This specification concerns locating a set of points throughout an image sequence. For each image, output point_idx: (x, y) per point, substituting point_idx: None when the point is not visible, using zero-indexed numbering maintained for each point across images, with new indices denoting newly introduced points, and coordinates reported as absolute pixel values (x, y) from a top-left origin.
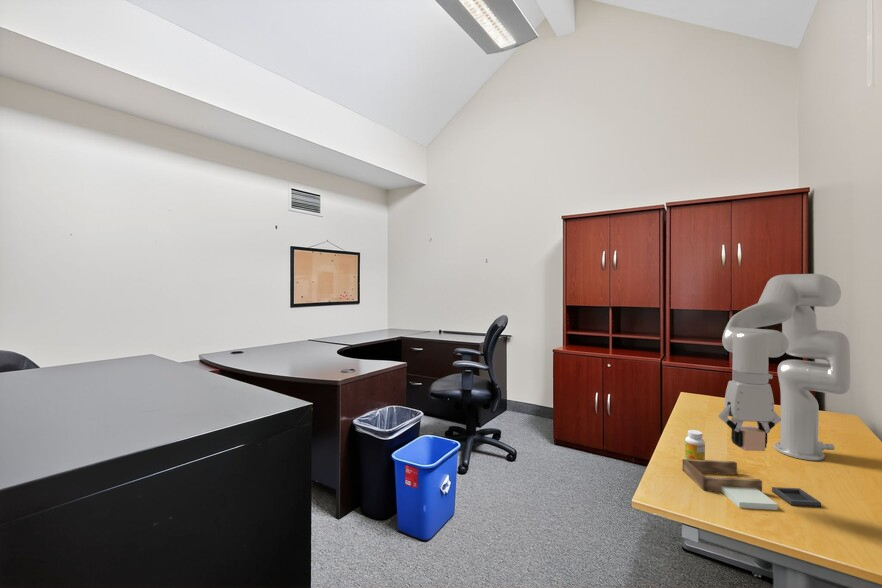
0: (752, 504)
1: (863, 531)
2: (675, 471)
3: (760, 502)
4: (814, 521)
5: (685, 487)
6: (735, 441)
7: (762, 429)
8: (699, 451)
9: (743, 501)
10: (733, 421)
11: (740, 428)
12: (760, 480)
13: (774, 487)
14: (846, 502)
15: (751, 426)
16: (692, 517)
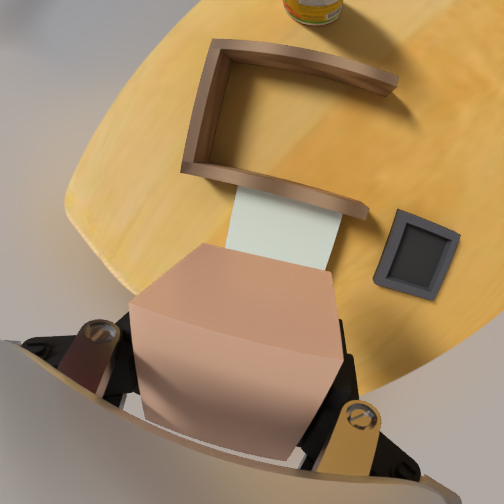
0: None
1: (399, 368)
2: (199, 58)
3: None
4: (350, 335)
5: (162, 149)
6: None
7: (304, 450)
8: (306, 3)
9: None
10: (78, 376)
11: (120, 407)
12: (363, 216)
13: (406, 214)
14: (490, 286)
15: (299, 387)
16: (112, 269)
